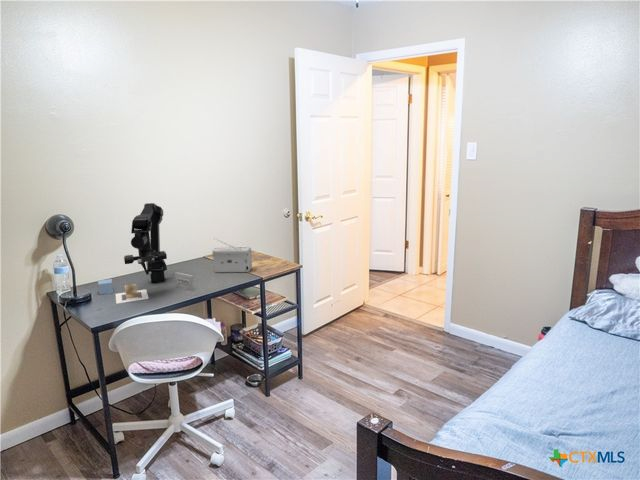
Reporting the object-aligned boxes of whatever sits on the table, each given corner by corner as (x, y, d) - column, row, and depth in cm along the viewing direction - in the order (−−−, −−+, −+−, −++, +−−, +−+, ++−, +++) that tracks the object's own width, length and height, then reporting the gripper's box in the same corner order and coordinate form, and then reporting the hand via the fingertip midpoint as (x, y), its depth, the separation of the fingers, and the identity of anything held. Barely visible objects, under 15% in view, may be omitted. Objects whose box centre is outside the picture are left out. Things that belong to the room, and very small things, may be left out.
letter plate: (146, 290, 223) (146, 289, 223) (148, 299, 210) (148, 298, 210) (115, 294, 217) (115, 293, 217) (116, 304, 205) (116, 303, 204)
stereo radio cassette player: (252, 268, 256) (250, 234, 251) (250, 273, 248) (248, 238, 243) (216, 269, 256) (213, 235, 251) (212, 273, 248) (210, 238, 243)
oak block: (137, 293, 217) (135, 283, 216) (137, 296, 212) (136, 287, 211) (125, 295, 215) (124, 285, 213) (126, 298, 210) (125, 288, 209)
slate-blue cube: (113, 290, 223) (111, 278, 222) (113, 294, 218) (111, 282, 217) (99, 292, 221) (98, 280, 220) (99, 296, 216) (98, 284, 214)
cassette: (195, 289, 223) (193, 275, 221) (192, 291, 221) (191, 276, 219) (178, 285, 229) (176, 271, 227) (175, 287, 227) (174, 272, 225)
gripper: (123, 249, 200) (127, 282, 204) (166, 244, 208) (169, 276, 211) (122, 244, 210) (126, 275, 213) (163, 239, 217) (166, 269, 221)
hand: (147, 274), depth 215 cm, fingers closed
